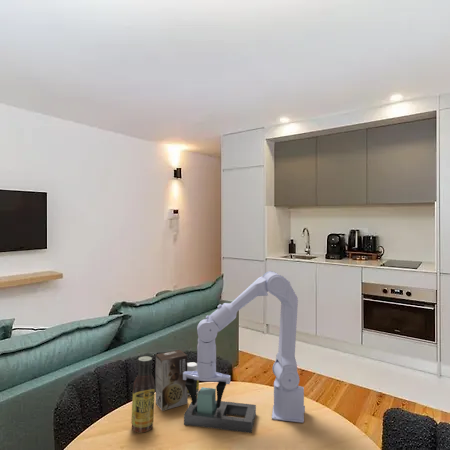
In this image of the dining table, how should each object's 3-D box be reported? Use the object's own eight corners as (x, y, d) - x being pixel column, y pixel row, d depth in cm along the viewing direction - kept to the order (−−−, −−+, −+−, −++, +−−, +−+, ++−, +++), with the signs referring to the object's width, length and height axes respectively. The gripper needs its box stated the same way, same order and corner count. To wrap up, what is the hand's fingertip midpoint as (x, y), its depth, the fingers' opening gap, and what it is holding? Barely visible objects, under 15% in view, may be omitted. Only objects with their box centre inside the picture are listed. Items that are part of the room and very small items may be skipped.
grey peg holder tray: (255, 414, 107) (255, 404, 107) (251, 433, 97) (251, 422, 97) (193, 407, 111) (193, 398, 111) (183, 424, 101) (183, 414, 101)
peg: (215, 414, 107) (215, 388, 107) (211, 422, 103) (211, 395, 103) (201, 413, 108) (201, 387, 108) (197, 420, 104) (197, 393, 104)
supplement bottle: (198, 395, 119) (198, 367, 119) (182, 395, 119) (182, 367, 119) (199, 388, 124) (199, 361, 125) (184, 388, 125) (184, 361, 125)
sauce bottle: (134, 436, 95) (134, 364, 96) (129, 425, 101) (129, 356, 101) (157, 430, 98) (157, 360, 99) (151, 419, 104) (151, 353, 104)
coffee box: (180, 396, 119) (180, 348, 119) (188, 404, 113) (188, 354, 114) (154, 402, 114) (155, 353, 114) (161, 411, 109) (162, 360, 109)
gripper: (232, 357, 108) (232, 400, 108) (187, 353, 111) (187, 396, 111) (228, 365, 101) (227, 412, 101) (180, 361, 104) (180, 407, 104)
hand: (206, 404), depth 105 cm, fingers open, 7 cm apart
